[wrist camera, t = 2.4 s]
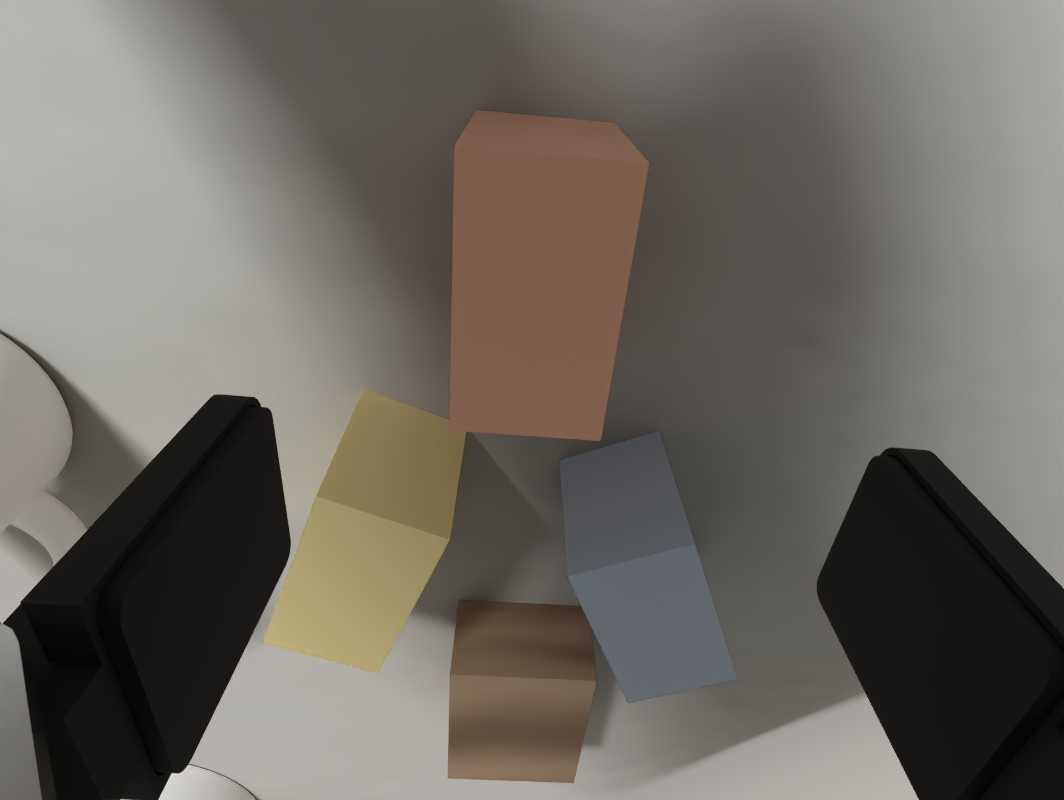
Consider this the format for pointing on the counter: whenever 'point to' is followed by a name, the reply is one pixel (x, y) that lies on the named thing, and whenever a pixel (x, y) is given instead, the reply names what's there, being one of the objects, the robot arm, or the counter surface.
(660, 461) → the slate brick
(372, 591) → the mustard brick
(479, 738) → the walnut block
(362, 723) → the counter surface
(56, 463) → the mug
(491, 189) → the terracotta brick
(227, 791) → the tall pillar cylinder
